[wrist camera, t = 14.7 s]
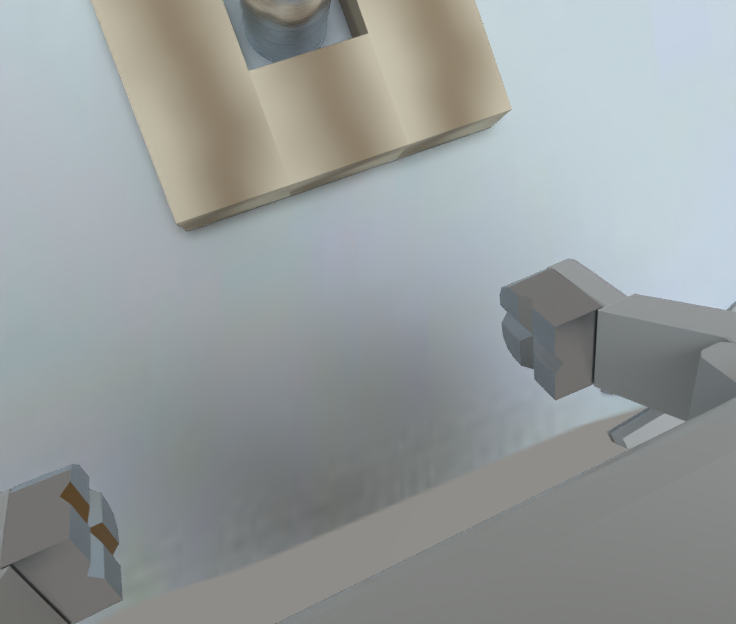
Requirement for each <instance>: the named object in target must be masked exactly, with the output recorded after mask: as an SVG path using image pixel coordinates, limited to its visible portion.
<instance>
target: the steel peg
mask: <svg viewBox="0 0 736 624" xmlns="http://www.w3.org/2000/svg"><path fill="white" fill-rule="evenodd" d="M330 1H331V0H240V3H241V10H242V17H243V23H244V30H245V33H246V36H247V38H248V40H249V42H250V44H251V45H252V46H253V48H254V49H255V50H256V51H257V52H258V53H259V54H260V55H262V56H263V57H265V58H266V59H268V60H270V61H273V62H279V61H282V60H285V59H288V58H292V57H295V56H298V55H301V54H304V53H308V52H311V51H314V50H317V49H319V48H320V46H321V44H322V43H323V40H324V38H325V34H326V28H327V21H328V15H329V8H330Z"/></svg>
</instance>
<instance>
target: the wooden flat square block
mask: <svg viewBox="0 0 736 624" xmlns="http://www.w3.org/2000/svg"><path fill="white" fill-rule="evenodd" d="M339 1H340V4H341V6H342V9H343V12H344V15H345V18H346V20H347V23H348V26H349V29H350V32H351V35H352V37H353V38H352V39H349V40H346V41H342V42H339V43H336V44H333V45H330V46H327V47H323V48H320V49H317V50H314V51H311V52H308V53H304V54H301V55H298V56H295V57H292V58H288V59H285V60H282V61H279V62H276V63H273V64H269V65H266V66H263V67H260V68H257V69H254V70H250V71H248V68H247V65H246V62H245V60H244V57H243V54H242V52H241V49H240V46H239V43H238V41H237V38H236V35H235V33H234V30H233V27H232V24H231V22H230V19H229V16H228V13H227V11H226V8H225V5H224V3H223V0H91V2H92V4H93V7H94V10H95V12H96V15H97V17H98V20H99V23H100V25H101V28H102V31H103V33H104V36H105V38H106V41H107V44H108V46H109V49H110V52H111V54H112V57H113V59H114V62H115V65H116V67H117V70H118V73H119V75H120V78H121V80H122V83H123V86H124V88H125V91H126V93H127V96H128V99H129V101H130V104H131V107H132V109H133V112H134V114H135V117H136V120H137V122H138V125H139V128H140V130H141V133H142V135H143V138H144V141H145V143H146V146H147V148H148V151H149V154H150V156H151V159H152V162H153V164H154V167H155V169H156V172H157V175H158V177H159V180H160V183H161V185H162V188H163V190H164V193H165V196H166V198H167V201H168V204H169V206H170V209H171V211H172V214H173V217H174V219H175V222H176V224H177V225H179V226H180V227H182V228H183V229H185V230H186V231H190V230H193V229H196V228H199V227H202V226H204V225H207V224H210V223H213V222H216V221H219V220H222V219H225V218H228V217H231V216H234V215H237V214H239V213H242V212H245V211H248V210H251V209H254V208H257V207H260V206H263V205H266V204H269V203H272V202H274V201H277V200H280V199H283V198H286V197H289V196H292V195H295V194H298V193H301V192H304V191H306V190H309V189H312V188H315V187H318V186H321V185H324V184H327V183H330V182H333V181H336V180H339V179H341V178H344V177H347V176H350V175H353V174H356V173H359V172H362V171H365V170H368V169H371V168H374V167H376V166H379V165H382V164H385V163H388V162H391V161H394V160H397V159H400V158H403V157H406V156H408V155H411V154H414V153H417V152H420V151H423V150H426V149H429V148H432V147H435V146H438V145H441V144H443V143H446V142H449V141H452V140H455V139H458V138H461V137H464V136H467V135H470V134H473V133H476V132H478V131H481V130H484V129H487V128H490V127H491V126H493V125H494V124H495V123H496V122H497V121H499V120H500V119H501V118H502V117H503V116H504V115H506V114H507V113H508V112H509V111H510V110H512V108H511V105H510V102H509V99H508V97H507V94H506V91H505V88H504V85H503V82H502V79H501V76H500V73H499V70H498V67H497V64H496V61H495V58H494V55H493V52H492V49H491V47H490V44H489V41H488V38H487V35H486V32H485V29H484V26H483V23H482V20H481V17H480V14H479V11H478V8H477V5H476V2H475V0H339Z"/></svg>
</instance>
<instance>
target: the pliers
mask: <svg viewBox="0 0 736 624" xmlns="http://www.w3.org/2000/svg"><path fill="white" fill-rule="evenodd" d="M727 311H733V312H736V302H735V303H734V304H732V305H731V306H730V307H729V309H728V310H727ZM601 392H604V393H607V394H611V395H616V394H613V393H611V392H608V391H605V390H603V389H601ZM684 422H686V421H683V420H681V419H678V418H675V417H673V416H670V415H668V414H665V413H662V412H660V411H657V410H655V409H652V408H650V407H647V408H646V409H644V410H642V411H641V412H639V413H637V414H636V415H634V416H632V417H631V418H629V419H627V420H626V421H624V422H622V423H621V424H619V425H617V426H616V427H614V428H612V429H611V430H609V431H607V433H608V436H609V437H610V439H611V441H612V442H614V443H616V444H618V445H621V446H623V447H625V448H631V447H634V446H637V445H639V444H641V443H643V442H645V441H647V440H649V439H652V438H654V437H656V436H658V435H660V434H662V433H664V432H666V431H668V430H670V429H672V428H674V427H676V426H678V425H680V424H682V423H684Z"/></svg>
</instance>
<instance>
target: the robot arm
mask: <svg viewBox="0 0 736 624" xmlns="http://www.w3.org/2000/svg"><path fill="white" fill-rule="evenodd" d="M500 305H501V306H502V307H503V308H504V309H505V310H506V311H507V313H506V315H505V317H504V319H503V321H502V331H503V337H504V340H505V343H506V345H507V348H508V350H509V351H510V353H511V354H512V356H513V357H514V358H515V360H516V361H517V362H518V363H519V364H520V365H521V366H525V367H528V368H532V369H534V379H535V380H536V381H537V382H538V383H539V384H540V385H541V386H542V388H543V389H544V390H545V391H546V392H547V393H548V394H549V395H550V396H551V397H552V398H553V399H554V400H557V399H560V398H562V397H564V396H567V395H569V394H571V393H574V392H576V391H578V390H581V389H583V388H585V387H588V386H590V385H592V384H594V386H595V387H598V388H600V389H603V390H605V391H608V392H611V393H613V394H616V395H618V396H621V397H624V398H626V399H629V400H631V401H634V402H637V403H639V404H642V405H644V406H647V407H650V408H652V409H655V410H657V411H660V412H662V413H665V414H668V415H670V416H673V417H675V418H678V419H681V420H683V421H686V422H684V423H682V424H680V425H678V426H676V427H674V428H672V429H670V430H668V431H666V432H664V433H662V434H660V435H658V436H656V437H654V438H652V439H649V440H647V441H645V442H643V443H641V444H639V445H637V446H635V447H633V448H631V449H629V450H627V451H625V452H623V453H621V454H619V455H617V456H615V457H613V458H611V459H609V460H607V461H605V462H603V463H601V464H599V465H597V466H595V467H593V468H591V469H589V470H587V471H584V472H582V473H580V474H578V475H576V476H574V477H572V478H570V479H568V480H566V481H564V482H562V483H560V484H558V485H556V486H554V487H552V488H550V489H548V490H546V491H544V492H542V493H540V494H538V495H536V496H534V497H532V498H530V499H528V500H526V501H524V502H522V503H520V504H518V505H516V506H514V507H512V508H509V509H508V510H505V511H503V512H501V513H499V514H497V515H495V516H493V517H491V518H489V519H487V520H485V521H483V522H481V523H479V524H477V525H475V526H473V527H471V528H469V529H467V530H465V531H463V532H461V533H459V534H457V535H455V536H453V537H451V538H449V539H447V540H445V541H443V542H441V543H438V544H436V545H434V546H432V547H430V548H428V549H426V550H424V551H422V552H420V553H418V554H416V555H414V556H412V557H410V558H408V559H406V560H404V561H402V562H400V563H398V564H396V565H394V566H392V567H390V568H388V569H386V570H384V571H382V572H380V573H378V574H376V575H373V576H372V577H369V578H367V579H366V580H363V581H361V582H359V583H358V584H355V585H353V586H351V587H349V588H347V589H345V590H343V591H341V592H339V593H337V594H335V595H333V596H331V597H329V598H327V599H325V600H323V601H321V602H319V603H317V604H315V605H313V606H311V607H308V608H306V609H304V610H303V611H300V612H298V613H296V614H294V615H292V616H290V617H288V618H286V619H284V620H282V621H280V622H278V623H276V624H736V312H733V311H727V310H722V309H716V308H711V307H705V306H700V305H694V304H688V303H683V302H677V301H672V300H666V299H660V298H655V297H649V296H644V295H638V294H633V295H631V296H629V297H628V296H626V295H625V294H624V293H622V292H621V291H619V290H618V289H616V288H615V287H614V286H612V285H611V284H609V283H608V282H606V281H605V280H604V279H602V278H601V277H599V276H598V275H596V274H595V273H593V272H592V271H591V270H589V269H588V268H586V267H585V266H583V265H582V264H581V263H579V262H578V261H576V260H574V259H566V260H564V261H562V262H559V263H557V264H555V265H553V266H550V267H548V268H546V269H545V270H542V271H540V272H537V273H535V274H533V275H530V276H528V277H526V278H523V279H521V280H518V281H516V282H514V283H511V284H509V285H507V286H504V287H502V288H501V292H500ZM118 545H119V538H118V529H117V525H116V522H115V518H114V515H113V512H112V510H111V508H110V506H109V504H108V502H107V501H106V499H105V498H104V497H103V495H102V494H101V493H99V492H96V491H92V490H89V476H88V475H87V474H86V473H85V471H84V470H83V469H82V468H81V467H80V465H77V464H72V465H69V466H67V467H64V468H61V469H59V470H56V471H54V472H51V473H49V474H46V475H43V476H41V477H38V478H36V479H33V480H31V481H28V482H25V483H23V484H20V485H18V486H15V487H13V488H12V489H9V490H6V491H4V492H1V493H0V624H75V623H77V622H79V621H81V620H83V619H85V618H87V617H89V616H91V615H93V614H95V613H97V612H99V611H101V610H103V609H105V608H107V607H109V606H111V605H113V604H115V603H118V602H120V601H122V583H121V566H120V565H119V563H118V562H117V561H116V559H115V558H114V557H113V556H112V555H113V553H114V552H115V550H116V548H117V546H118Z"/></svg>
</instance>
